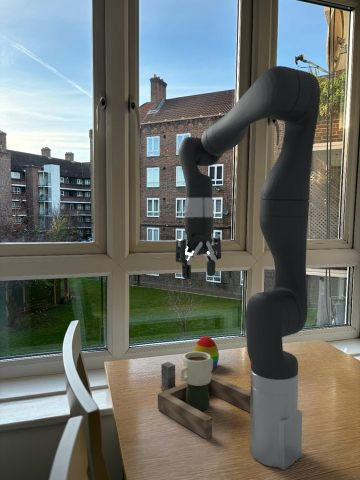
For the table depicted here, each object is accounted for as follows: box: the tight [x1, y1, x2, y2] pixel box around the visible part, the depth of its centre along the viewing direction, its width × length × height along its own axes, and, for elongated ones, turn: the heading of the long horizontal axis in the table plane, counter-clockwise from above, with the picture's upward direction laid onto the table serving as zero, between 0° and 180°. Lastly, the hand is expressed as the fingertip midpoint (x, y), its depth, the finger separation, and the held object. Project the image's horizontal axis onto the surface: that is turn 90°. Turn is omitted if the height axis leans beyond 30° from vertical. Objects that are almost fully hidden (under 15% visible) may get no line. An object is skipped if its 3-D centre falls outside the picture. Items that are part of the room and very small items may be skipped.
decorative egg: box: [192, 335, 220, 370], centre depth 122 cm, size 8×8×10 cm
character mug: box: [179, 351, 214, 411], centre depth 97 cm, size 11×7×13 cm, turn 131°
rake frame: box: [157, 361, 251, 439], centre depth 98 cm, size 26×18×7 cm
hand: (199, 277), depth 101 cm, fingers open, 8 cm apart
